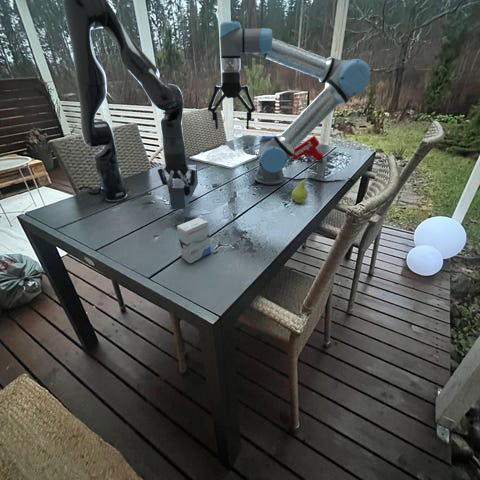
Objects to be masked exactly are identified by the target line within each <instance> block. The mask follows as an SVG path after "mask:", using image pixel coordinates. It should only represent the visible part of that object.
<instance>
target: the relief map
mask: <svg viewBox="0 0 480 480" xmlns="http://www.w3.org/2000/svg"><path fill="white" fill-rule="evenodd" d="M256 159H258V155H256V154H249V153H246V152H245V151H244V149H242V148H238V149H235V150H233V149H231V148H230V147H229V146H228V145H227V144H225V145H224V144H221V145H220V146H219V147H216V148H213V149H210V150H208V151H204V152H202V151H201V152H200V153H198V154H196V155H192V156H189V160H193V161H196V162H201V163H204V164H209V165H214V166H217V167H222V168H226V169H230V170H233V169H235V168H237V167H240V166H241V165H244V164H247V163H250V162H252V161H254V160H256Z"/></svg>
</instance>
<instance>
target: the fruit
mask: <svg viewBox="0 0 480 480" xmlns="http://www.w3.org/2000/svg"><path fill="white" fill-rule="evenodd" d="M305 178H306V179H305V180H300V182H298V184H297V185H296V186H295V187H294V188H293V190H292V191H291V198H292V200H293V201H294V202H295V203H297V204H301V203H304V202H305V201H306V200H307V198H308V196H309V195H308V190H307V189H306V184H305V183H306V180H308V179H307V178H311V175H310V174H309V175H308V176H307V177H305Z"/></svg>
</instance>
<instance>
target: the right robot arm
mask: <svg viewBox="0 0 480 480" xmlns="http://www.w3.org/2000/svg"><path fill="white" fill-rule="evenodd" d="M219 26H220V27H219V28H220V29H219V30H220V32H219V35H220V37H219V41H220V42H219V43H220V58H221V59H220V62H221V63H220V65H221V67H220V68H221V71H222V72H221V85H214V88H213V89H214V90H213V94H212V96H211V98H210V102H209V104H208V107H207V111H208V112H211V115H212V121H214V123H215V125H214V127H215V130H218V129H219V119H218V118H219V117H218V111H217V110H218V108H219V106H221V104H222V103H223V101H224V100H225V98H227V99H238V100H239V101H240V103H242V105H243V106H244V108H245V109H246V110H247V112H246V130H249V128H250V122H249V121H252V112H255V111H256V109H257V108H256V105H255V103H254V101H253V99H252V96H251V94H250V91H249V85H247V84H246V85H243V86H242V83H241V81H242V79H241V72H240V71H241V54H252V55H254V56H257V57H261V58H264V59H266V60H269V61H271V62H274V63H276V64H278V65H282V66H285V67H286V68H289V69H293V70H294V71H298V72H301V73H303V74H306V75H309V76H310V77H314V78H316V79H318V80H319V83H322V84H324V88H323V90H322V91H321V92H320V93H319V94H318V95H317V96H316V98H315V99H314V100H312V102H310V104H309V105H308V106H307V107H306V108H305V109H304V110H303V111H302V112H301V113H300V114H299V115H298V117H296V118H295V119H294V120H293V121H292V122H291V123H290V124H289V126H288V127H287V128H286V129H284V131H283V132H282V133H281V134H263V135H261V136H260V137H259V153H258V157H259V158H258V167H257V171H256V174H255V177H254V181H255V183H258V184H259V185H262V186H263V185H264V186H279V185H281V184H283V183H284V181H285V180H290V181H302V180H305V179H306V178H307V177H302V178H293V177H287V176H285V175H284V172H283V171H284V170H283V169H284V168H285V167H286V165H287V163H288V160H290V158H292V157H291V156H292V155H293V154H294V149H295V148H296V147H298V146H299V145H301V144H302V143H303V141H304V140H305V139H306V138H307V137H308V136H309V135H310V134H311V133H312V132H313V131H314V130H315V129H316V128H317V127H318V126H319V125H320V124H321V123H323V121H324V120H325V119H326V118H327V117H329V115H330V114H332V112H333V111H334V110H335V109H337V107H338V106H340V105H342V106H343V105H345V104H347V103H348V102H349V101H350V100H351V99H352V98H353V97H354V96H355V97H356V96H357V95H360V94H361V93H362V92H364V91H365V90H366V88H367V87H368V86H369V83H370V80H371V69H370V66H369V64H368V63H367V62H366V61H365V60H362V59H360V58H353V59H338V58H334V57H332V56H329V57H328V58H326V57H324V56H321V55H318V54H316V53H313V52H311V51H308V50H305V49H303V48H301V47H297V46H296V45H292V44H291V43H287V42H285V41H283V40H280V39H277V38H274V37H273V30H272V29H271V28H265V27H262V28H259V27H258V28H242V27H241V23H240V22H239V21H236V20H235V21H232V20H229V21H223V22H221V24H220V25H219ZM220 91H221V92H222V93H223V94H222V96H221V97H220V98H219V100H218V101H217V102H216V104H215V105H214V103H215V101H216V98H217V96H218V94H219V92H220ZM241 91H243V92H244V93H245V95H246V98H247V100H248V101H249V104H250V105H249V104H248V103H247V101H246V100H245V99H244V97H243V96H242V94H241ZM213 106H214V107H213ZM250 106H251V107H250ZM313 178H314V177H309V178H307V179H306V180H311V181H316V182H320V183H335V182H336V183H337V182H342V181H344V180H340V179H332V180H334V181H332V180H323V181H321V180H322V179H318V178H314V179H313ZM347 178H348V179H350V180H349V181H350V182H354V180H353V179H352V178H350V177H347ZM317 179H318V180H317ZM306 180H305V181H306Z"/></svg>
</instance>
